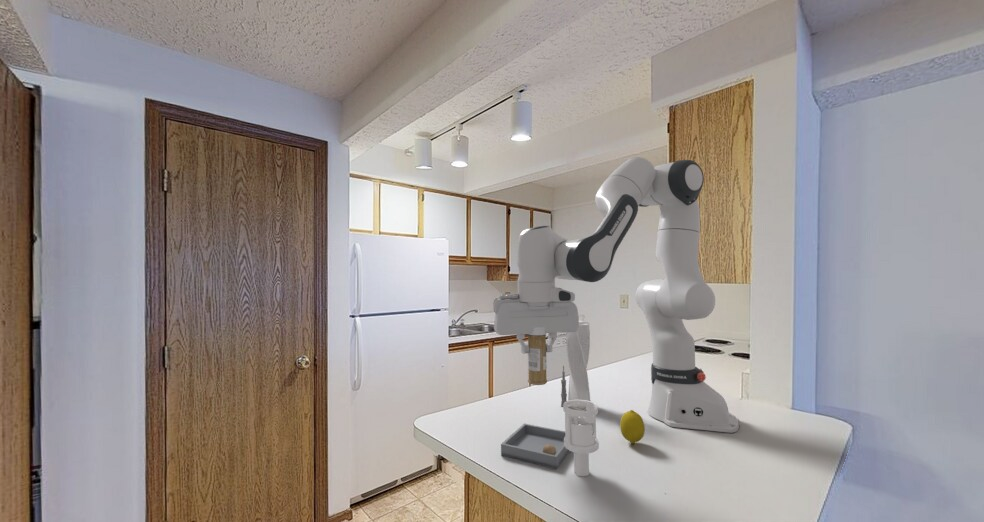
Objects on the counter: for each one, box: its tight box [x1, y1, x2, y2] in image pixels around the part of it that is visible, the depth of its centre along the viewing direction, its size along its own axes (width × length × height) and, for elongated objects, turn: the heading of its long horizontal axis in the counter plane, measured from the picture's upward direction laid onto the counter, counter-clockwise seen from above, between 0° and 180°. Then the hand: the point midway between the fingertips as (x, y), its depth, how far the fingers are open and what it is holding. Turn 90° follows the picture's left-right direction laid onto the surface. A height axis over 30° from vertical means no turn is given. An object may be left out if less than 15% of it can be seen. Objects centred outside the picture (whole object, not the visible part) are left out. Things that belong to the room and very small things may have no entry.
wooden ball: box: [543, 444, 556, 455], centre depth 84 cm, size 3×3×3 cm
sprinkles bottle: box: [527, 327, 548, 386], centre depth 90 cm, size 5×5×14 cm
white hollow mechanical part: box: [562, 400, 600, 477], centre depth 79 cm, size 7×7×15 cm
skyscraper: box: [560, 314, 591, 411], centre depth 119 cm, size 8×8×28 cm
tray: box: [500, 423, 571, 470], centre depth 90 cm, size 13×13×2 cm
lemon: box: [619, 409, 645, 445], centre depth 92 cm, size 6×6×8 cm
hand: (536, 352), depth 90 cm, fingers closed on sprinkles bottle, 4 cm apart
